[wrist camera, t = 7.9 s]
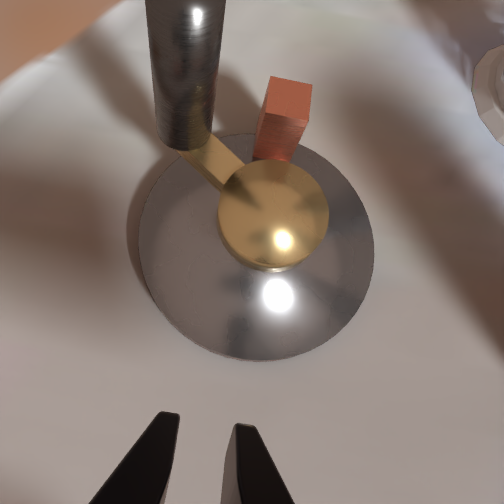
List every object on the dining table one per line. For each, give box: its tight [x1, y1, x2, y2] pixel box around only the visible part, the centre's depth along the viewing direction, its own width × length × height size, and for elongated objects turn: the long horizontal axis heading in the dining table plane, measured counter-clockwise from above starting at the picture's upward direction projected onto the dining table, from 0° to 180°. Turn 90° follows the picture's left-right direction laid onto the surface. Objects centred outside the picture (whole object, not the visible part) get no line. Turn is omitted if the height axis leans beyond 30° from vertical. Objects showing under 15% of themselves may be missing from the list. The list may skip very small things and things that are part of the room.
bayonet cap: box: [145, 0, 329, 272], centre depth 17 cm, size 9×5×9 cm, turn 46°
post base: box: [138, 76, 374, 362], centre depth 21 cm, size 12×12×5 cm
